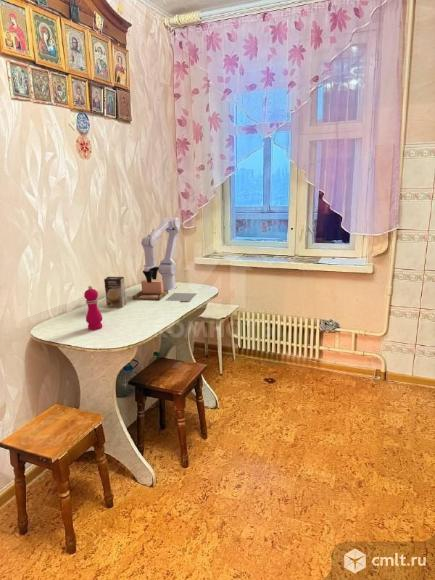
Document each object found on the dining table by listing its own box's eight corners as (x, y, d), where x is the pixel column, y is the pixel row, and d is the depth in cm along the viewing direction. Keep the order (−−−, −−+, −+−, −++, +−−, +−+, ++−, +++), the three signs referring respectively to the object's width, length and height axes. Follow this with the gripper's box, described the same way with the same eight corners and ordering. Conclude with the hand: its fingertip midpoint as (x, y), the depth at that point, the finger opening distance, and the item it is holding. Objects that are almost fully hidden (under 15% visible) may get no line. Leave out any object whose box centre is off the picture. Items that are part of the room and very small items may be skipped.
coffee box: (106, 308, 211) (103, 279, 207) (110, 305, 217) (107, 276, 213) (123, 308, 210) (120, 279, 206) (127, 304, 216) (124, 276, 212)
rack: (143, 293, 238) (142, 289, 237) (168, 294, 234) (168, 290, 234) (133, 300, 224) (132, 296, 223) (159, 301, 221) (159, 297, 220)
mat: (174, 293, 235) (174, 292, 235) (196, 294, 232) (196, 293, 232) (164, 301, 220) (164, 300, 220) (189, 302, 217) (189, 301, 217)
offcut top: (141, 297, 228) (141, 295, 228) (158, 297, 227) (158, 295, 227) (139, 299, 225) (139, 297, 224) (156, 299, 223) (156, 297, 223)
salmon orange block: (144, 294, 235) (143, 280, 233) (163, 295, 233) (162, 280, 230) (142, 296, 232) (141, 281, 230) (161, 297, 229) (160, 281, 227)
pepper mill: (88, 331, 178) (82, 288, 173) (86, 326, 184) (80, 285, 179) (104, 328, 181) (99, 286, 175) (102, 324, 187) (97, 283, 182)
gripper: (148, 255, 234) (150, 278, 237) (138, 260, 220) (140, 283, 224) (159, 255, 232) (161, 278, 236) (150, 260, 219) (152, 284, 222)
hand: (151, 281), depth 230 cm, fingers open, 7 cm apart
